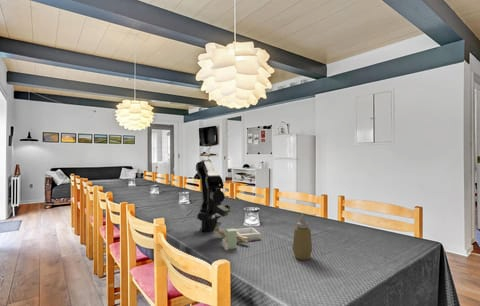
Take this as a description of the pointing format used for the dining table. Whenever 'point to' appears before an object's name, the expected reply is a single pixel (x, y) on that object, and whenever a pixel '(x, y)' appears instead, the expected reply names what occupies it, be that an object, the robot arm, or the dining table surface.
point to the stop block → (231, 238)
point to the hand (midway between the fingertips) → (212, 230)
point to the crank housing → (226, 244)
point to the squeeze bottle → (302, 240)
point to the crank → (223, 234)
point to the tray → (249, 233)
